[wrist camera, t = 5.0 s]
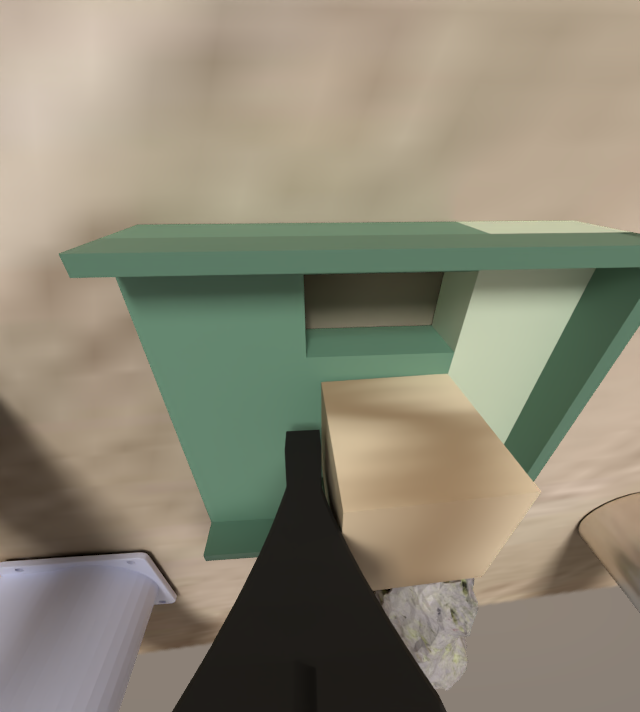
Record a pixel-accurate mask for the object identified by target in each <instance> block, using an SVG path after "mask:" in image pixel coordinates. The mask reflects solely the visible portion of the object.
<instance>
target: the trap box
mask: <svg viewBox="0 0 640 712" xmlns="http://www.w3.org/2000/svg"><path fill="white" fill-rule="evenodd" d="M59 256H60V258H61V260H62V262H63V264H64V266H65V268H66V270H67V272H68V275H69V277H70V278H88V277H116V280H117V282H118V285H119V287H120V290H121V293H122V295H123V298H124V300H125V303H126V305H127V308H128V310H129V313H130V316H131V318H132V321H133V323H134V326H135V328H136V331H137V333H138V336H139V339H140V341H141V344H142V346H143V349H144V351H145V354H146V356H147V359H148V361H149V364H150V367H151V369H152V372H153V374H154V377H155V379H156V382H157V384H158V387H159V390H160V392H161V395H162V397H163V400H164V402H165V405H166V407H167V410H168V413H169V415H170V418H171V420H172V423H173V425H174V428H175V430H176V433H177V435H178V438H179V441H180V443H181V446H182V448H183V451H184V453H185V456H186V458H187V461H188V464H189V466H190V469H191V471H192V474H193V476H194V479H195V481H196V484H197V487H198V489H199V492H200V494H201V497H202V499H203V502H204V504H205V507H206V509H207V512H208V515H209V517H210V520H211V522H212V523H211V527H210V531H209V535H208V539H207V543H206V548H205V552H204V558H205V560H206V561H211V560H225V559H239V558H253V557H258V556H259V553H260V551H261V549H262V547H263V545H264V542H265V540H266V538H267V535H268V533H269V531H270V528H271V526H272V524H273V521H274V519H275V516H276V513H277V511H278V508H279V505H280V503H281V500H282V498H283V495H284V492H285V489H286V469H285V439H286V431H302V430H320V439H321V454H322V426H321V382H330V381H345V380H360V379H374V378H389V377H404V376H418V375H433V374H448V375H449V376H450V377H451V379H452V380H453V381H454V382H455V384H456V385H457V386H458V387H459V389H460V390H461V391H462V392H463V394H464V395H465V396H466V397H467V399H468V400H469V401H470V403H471V404H472V405H473V406H474V408H475V409H476V410H477V411H478V413H479V414H480V415H481V416H482V418H483V419H484V420H485V421H486V423H487V424H488V425H489V426H490V428H491V429H492V430H493V432H494V433H495V434H496V435H497V437H498V438H499V439H500V440H501V442H502V443H503V444H504V445H505V447H506V448H507V449H508V450H509V452H510V453H511V454H512V455H513V457H514V458H515V459H516V461H517V462H518V463H519V464H520V466H521V467H522V468H523V469H524V471H525V472H526V473H527V474H528V476H529V477H530V478H531V479H532V481H533V482H534V481H535V479H536V478H537V476H538V475H539V473H540V472H541V470H542V469H543V467H544V466H545V464H546V463H547V461H548V460H549V458H550V457H551V455H552V454H553V452H554V451H555V450H556V448H557V447H558V445H559V444H560V442H561V441H562V439H563V438H564V436H565V435H566V433H567V432H568V430H569V429H570V427H571V426H572V424H573V423H574V422H575V420H576V419H577V417H578V416H579V414H580V413H581V411H582V410H583V408H584V407H585V405H586V404H587V402H588V401H589V399H590V398H591V396H592V395H593V393H594V392H595V391H596V389H597V388H598V386H599V385H600V383H601V382H602V380H603V379H604V377H605V376H606V374H607V373H608V371H609V370H610V368H611V367H612V365H613V364H614V362H615V361H616V360H617V358H618V357H619V355H620V354H621V352H622V351H623V349H624V348H625V346H626V345H627V343H628V342H629V340H630V339H631V337H632V336H633V334H634V333H635V332H636V330H637V329H638V327H639V326H640V234H638V233H633V232H628V231H623V230H618V229H613V228H608V227H603V226H598V225H593V224H588V223H583V222H578V221H481V222H375V223H268V224H162V225H135V226H133V227H130V228H127V229H125V230H122V231H119V232H116V233H114V234H111V235H108V236H106V237H103V238H100V239H97V240H95V241H92V242H89V243H86V244H84V245H81V246H78V247H76V248H73V249H70V250H67V251H65V252H62V253H59ZM414 272H444V276H443V280H442V284H441V288H440V292H439V297H438V301H437V305H436V309H435V313H434V318H433V322H432V325H425V326H391V327H356V328H322V329H305V304H304V275H309V274H361V273H414ZM322 489H323V492H324V494H325V488H324V480H323V472H322ZM325 497H326V496H325Z"/></svg>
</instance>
